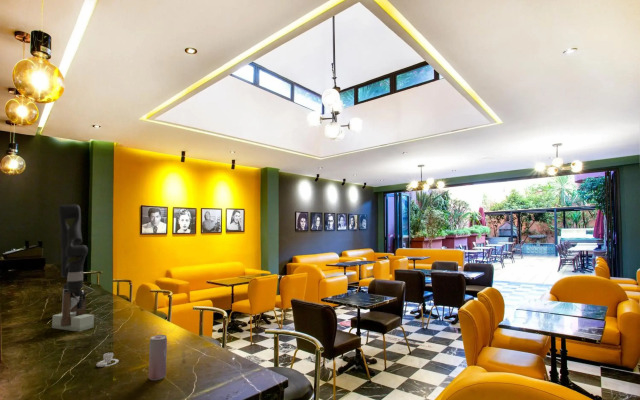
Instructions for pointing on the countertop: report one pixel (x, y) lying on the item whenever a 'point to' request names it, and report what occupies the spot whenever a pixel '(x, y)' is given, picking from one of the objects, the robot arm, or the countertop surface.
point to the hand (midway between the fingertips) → (73, 308)
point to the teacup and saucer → (107, 360)
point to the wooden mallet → (66, 310)
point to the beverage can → (157, 357)
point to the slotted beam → (74, 322)
